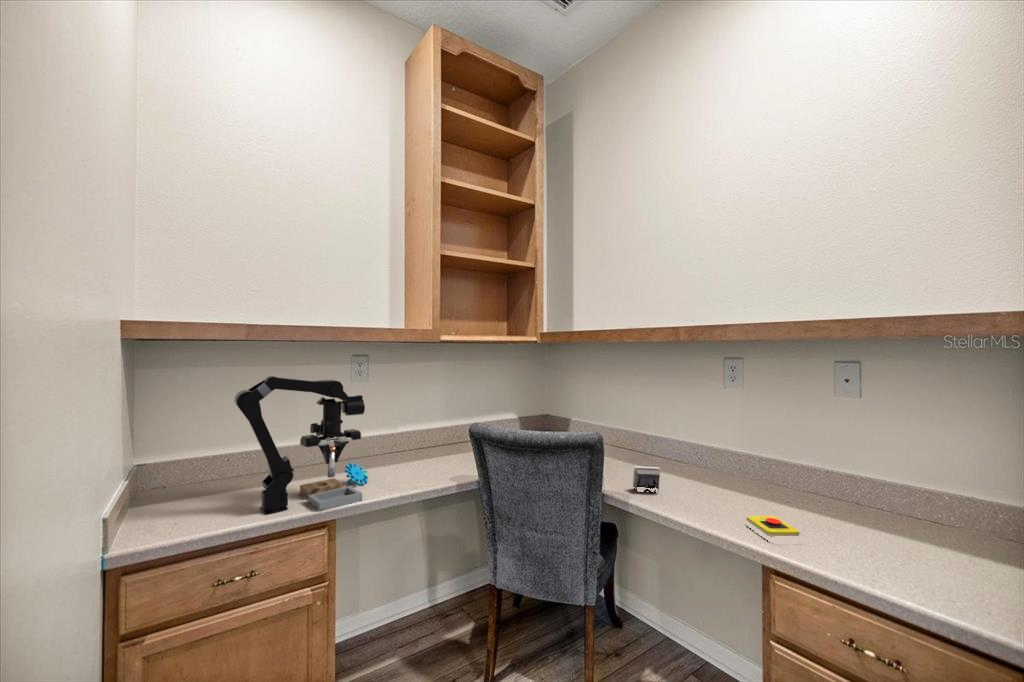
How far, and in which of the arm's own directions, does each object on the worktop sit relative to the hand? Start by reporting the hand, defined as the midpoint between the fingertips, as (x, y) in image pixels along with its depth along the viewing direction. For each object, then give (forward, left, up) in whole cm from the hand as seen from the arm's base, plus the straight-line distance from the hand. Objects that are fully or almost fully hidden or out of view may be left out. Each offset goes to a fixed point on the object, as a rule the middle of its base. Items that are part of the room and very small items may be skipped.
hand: (331, 463), depth 149 cm
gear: (+14, +9, -12) cm, 21 cm away
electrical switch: (+87, -69, -12) cm, 112 cm away
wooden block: (0, +8, -12) cm, 14 cm away
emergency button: (+81, -111, -13) cm, 138 cm away
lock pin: (0, 0, -4) cm, 5 cm away
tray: (0, -4, -12) cm, 13 cm away
